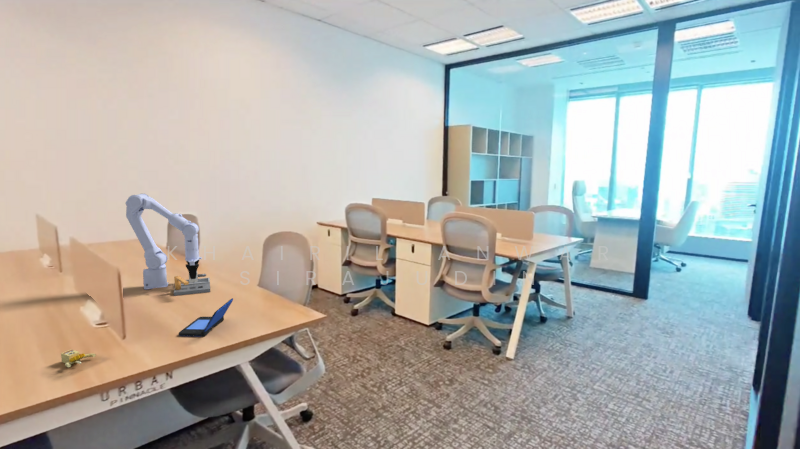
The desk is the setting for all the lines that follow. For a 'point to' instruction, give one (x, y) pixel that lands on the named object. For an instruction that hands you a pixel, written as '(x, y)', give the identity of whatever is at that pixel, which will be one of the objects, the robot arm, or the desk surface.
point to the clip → (179, 282)
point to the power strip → (192, 289)
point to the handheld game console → (205, 323)
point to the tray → (199, 282)
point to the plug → (196, 278)
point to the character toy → (73, 357)
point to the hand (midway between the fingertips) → (193, 276)
